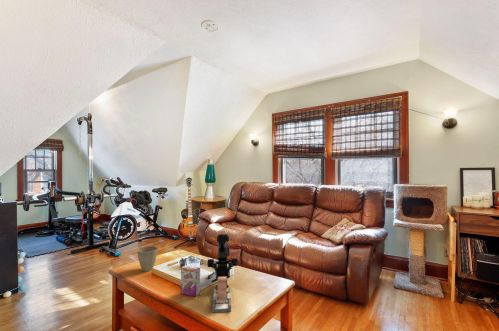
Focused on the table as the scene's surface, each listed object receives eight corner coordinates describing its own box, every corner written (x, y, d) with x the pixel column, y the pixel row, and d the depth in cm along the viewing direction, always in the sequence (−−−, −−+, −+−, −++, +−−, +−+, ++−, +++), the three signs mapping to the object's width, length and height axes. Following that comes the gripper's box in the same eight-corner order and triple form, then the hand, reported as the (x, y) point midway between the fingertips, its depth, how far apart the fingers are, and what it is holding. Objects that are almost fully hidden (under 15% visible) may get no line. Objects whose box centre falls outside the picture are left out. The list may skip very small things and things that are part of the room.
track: (214, 294, 158) (214, 288, 158) (230, 293, 159) (230, 287, 159) (212, 312, 139) (212, 305, 139) (231, 311, 139) (231, 304, 140)
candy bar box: (180, 294, 159) (180, 267, 159) (185, 290, 163) (185, 264, 164) (196, 297, 155) (196, 269, 155) (200, 293, 160) (200, 266, 160)
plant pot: (137, 275, 187) (137, 253, 187) (136, 267, 201) (137, 247, 201) (158, 271, 193) (158, 250, 194) (157, 264, 207) (157, 245, 207)
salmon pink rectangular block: (216, 296, 152) (216, 276, 152) (228, 296, 152) (228, 275, 152) (215, 303, 145) (215, 281, 145) (228, 302, 145) (228, 280, 145)
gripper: (207, 246, 160) (206, 271, 149) (237, 245, 162) (238, 269, 151) (208, 254, 167) (207, 279, 156) (236, 253, 169) (237, 277, 158)
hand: (222, 276), depth 155 cm, fingers open, 6 cm apart
